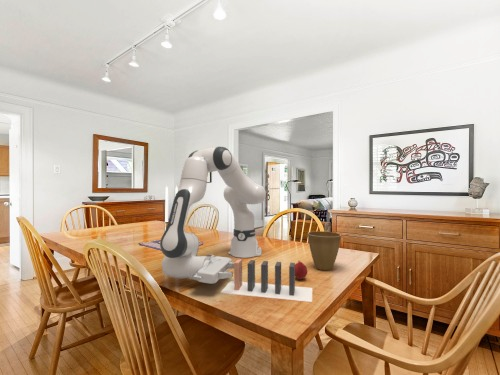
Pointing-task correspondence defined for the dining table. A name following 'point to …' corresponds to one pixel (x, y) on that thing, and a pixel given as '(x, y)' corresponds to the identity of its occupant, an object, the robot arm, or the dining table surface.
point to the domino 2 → (264, 276)
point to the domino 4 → (292, 279)
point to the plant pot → (324, 248)
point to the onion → (300, 270)
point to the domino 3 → (278, 278)
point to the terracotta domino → (238, 274)
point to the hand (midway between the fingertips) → (236, 270)
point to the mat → (271, 292)
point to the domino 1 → (251, 275)
